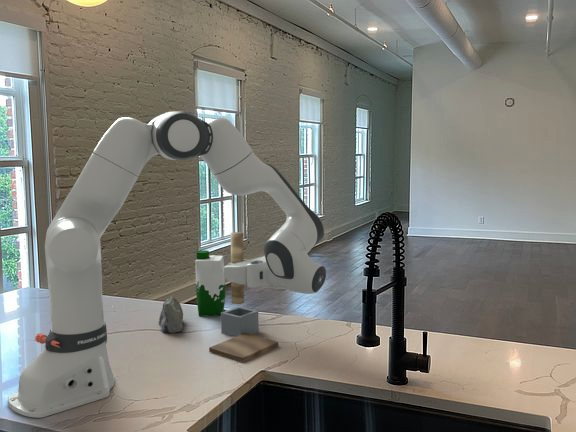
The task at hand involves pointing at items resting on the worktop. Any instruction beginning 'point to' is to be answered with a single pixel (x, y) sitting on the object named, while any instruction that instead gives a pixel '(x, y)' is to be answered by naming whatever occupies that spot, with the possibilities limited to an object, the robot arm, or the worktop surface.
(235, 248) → the dowel
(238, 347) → the tray
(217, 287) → the milk carton
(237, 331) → the open box
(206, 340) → the worktop surface
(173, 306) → the mineral rock
